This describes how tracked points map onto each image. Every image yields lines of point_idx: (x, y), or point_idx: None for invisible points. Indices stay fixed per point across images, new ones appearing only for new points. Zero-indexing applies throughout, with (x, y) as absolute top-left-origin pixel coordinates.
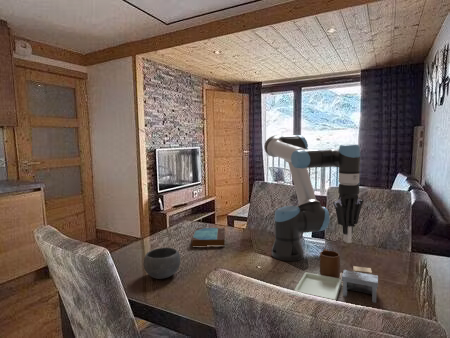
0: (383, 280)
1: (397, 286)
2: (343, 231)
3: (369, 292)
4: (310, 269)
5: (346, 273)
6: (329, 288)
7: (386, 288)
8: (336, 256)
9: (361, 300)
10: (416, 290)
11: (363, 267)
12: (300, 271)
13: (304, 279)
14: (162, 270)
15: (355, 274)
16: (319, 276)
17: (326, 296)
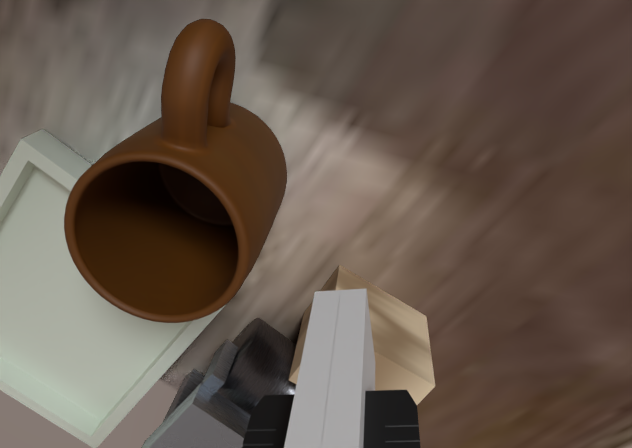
0: (541, 308)
1: (552, 383)
2: (251, 445)
3: None
4: (120, 7)
5: (182, 444)
6: (135, 321)
7: (468, 382)
8: (186, 317)
9: None
10: (610, 439)
11: (391, 363)
12: (29, 25)
13: (10, 203)
14: None
15: None
16: None
17: (65, 420)
